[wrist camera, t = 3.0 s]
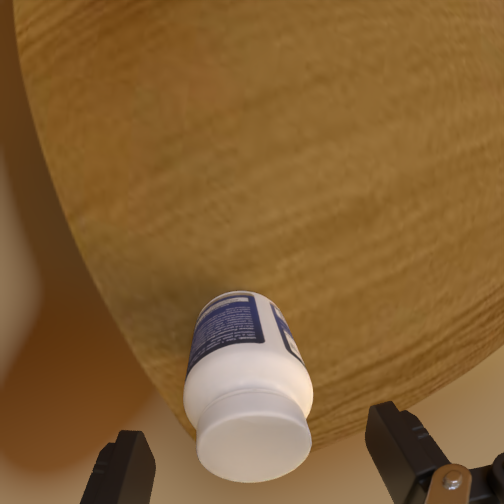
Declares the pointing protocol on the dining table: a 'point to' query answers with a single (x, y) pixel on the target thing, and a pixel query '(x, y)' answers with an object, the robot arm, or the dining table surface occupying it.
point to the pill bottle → (247, 390)
